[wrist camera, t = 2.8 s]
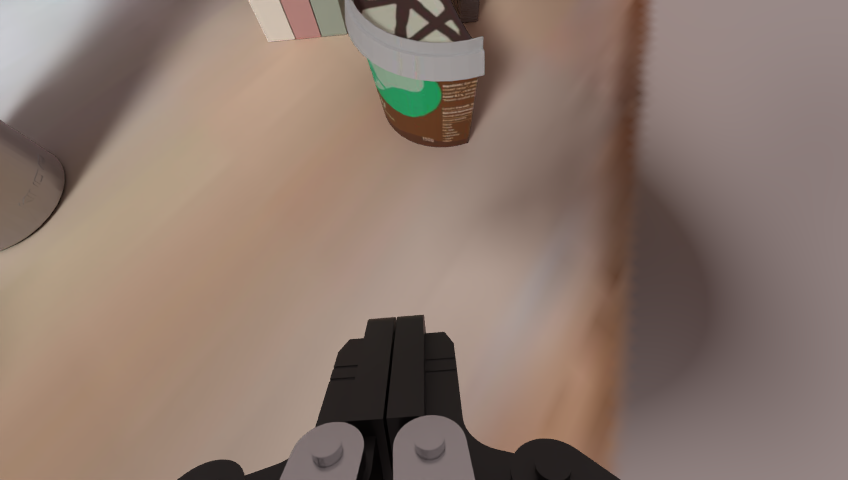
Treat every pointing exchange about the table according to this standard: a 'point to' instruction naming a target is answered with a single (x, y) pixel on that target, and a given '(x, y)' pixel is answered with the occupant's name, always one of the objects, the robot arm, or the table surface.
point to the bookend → (468, 10)
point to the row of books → (300, 18)
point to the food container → (419, 66)
